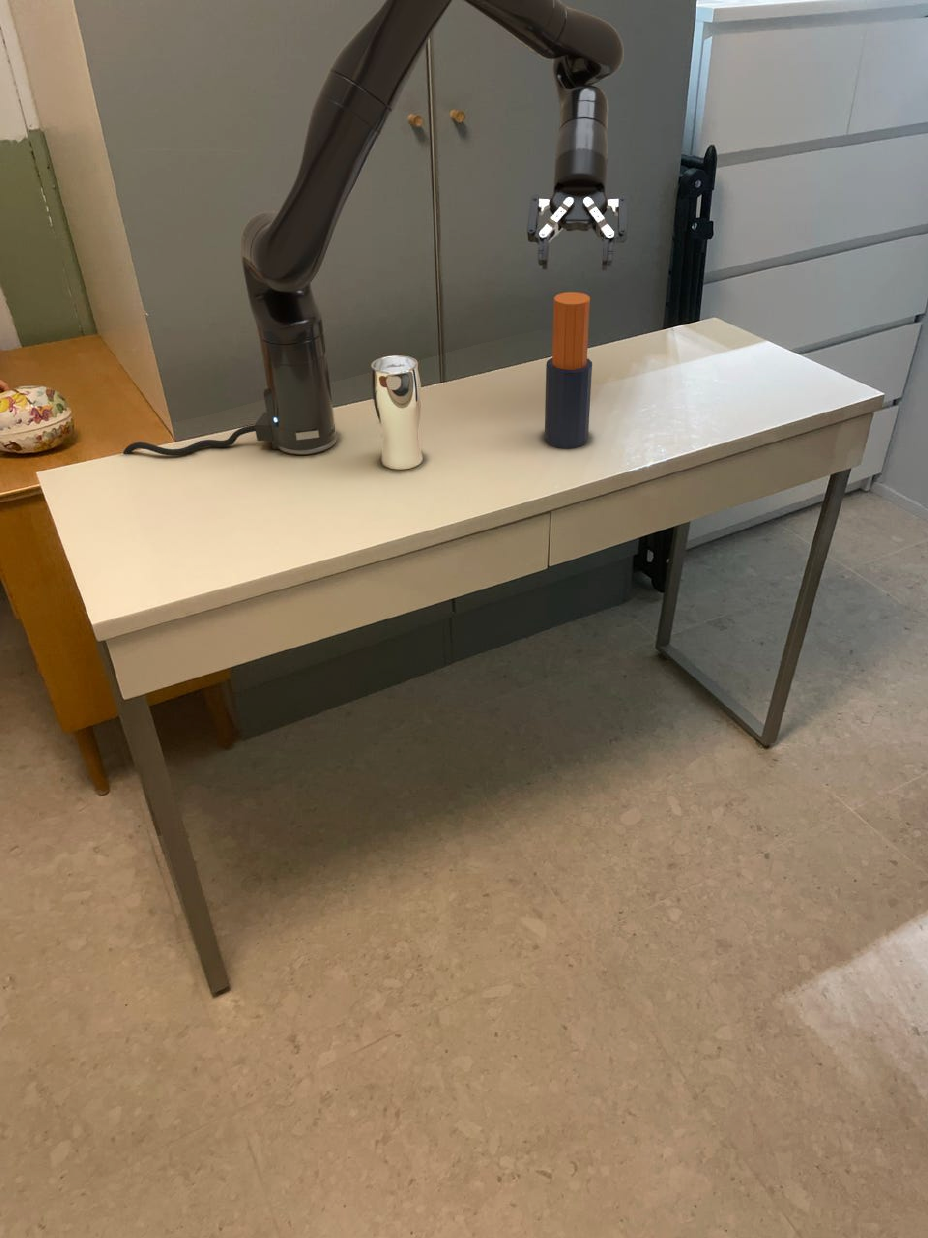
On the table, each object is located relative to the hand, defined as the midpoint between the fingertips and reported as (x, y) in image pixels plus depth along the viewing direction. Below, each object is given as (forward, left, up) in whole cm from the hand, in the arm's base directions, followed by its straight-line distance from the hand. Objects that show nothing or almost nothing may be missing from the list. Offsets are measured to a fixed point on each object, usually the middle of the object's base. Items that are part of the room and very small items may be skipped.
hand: (574, 267), depth 134 cm
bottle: (0, -6, -24) cm, 25 cm away
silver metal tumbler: (-24, -15, -24) cm, 37 cm away
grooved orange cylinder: (0, -6, -12) cm, 13 cm away
